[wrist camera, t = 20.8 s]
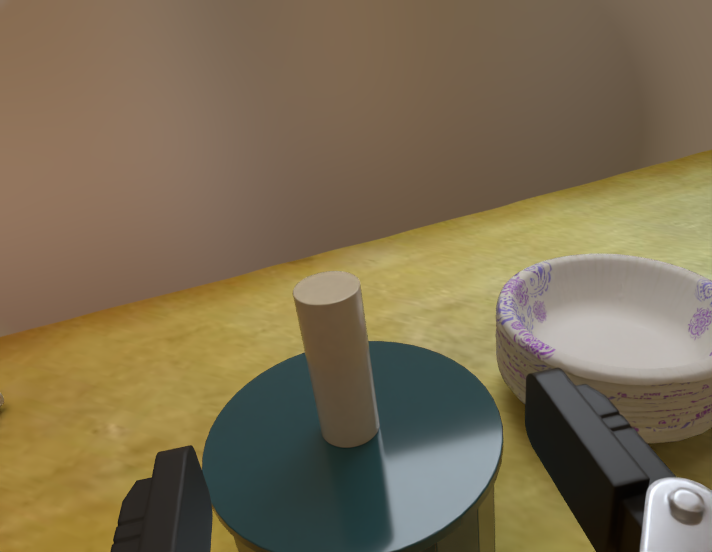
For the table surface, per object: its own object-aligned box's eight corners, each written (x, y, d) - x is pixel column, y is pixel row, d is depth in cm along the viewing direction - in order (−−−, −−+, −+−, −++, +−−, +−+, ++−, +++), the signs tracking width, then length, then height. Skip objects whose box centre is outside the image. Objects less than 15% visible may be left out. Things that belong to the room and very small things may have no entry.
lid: (432, 646, 19) (411, 452, 15) (143, 508, 26) (74, 348, 22) (537, 389, 30) (542, 233, 25) (311, 338, 36) (286, 209, 32)
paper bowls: (789, 461, 34) (823, 353, 31) (537, 497, 34) (541, 393, 31) (655, 324, 48) (667, 238, 44) (474, 350, 48) (471, 265, 44)
